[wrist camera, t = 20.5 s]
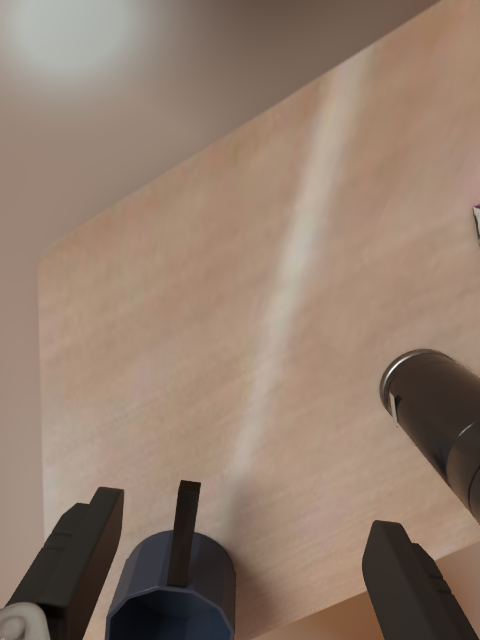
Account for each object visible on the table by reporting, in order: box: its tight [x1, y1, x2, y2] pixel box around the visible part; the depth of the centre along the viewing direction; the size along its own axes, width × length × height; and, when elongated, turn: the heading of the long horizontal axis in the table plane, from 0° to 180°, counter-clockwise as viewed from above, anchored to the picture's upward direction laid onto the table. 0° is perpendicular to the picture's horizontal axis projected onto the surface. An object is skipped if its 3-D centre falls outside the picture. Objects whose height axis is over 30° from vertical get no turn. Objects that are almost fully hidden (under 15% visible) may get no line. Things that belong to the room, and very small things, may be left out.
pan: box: [105, 480, 236, 640], centre depth 45 cm, size 15×28×8 cm, turn 171°
